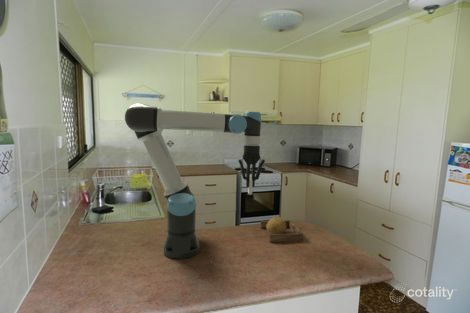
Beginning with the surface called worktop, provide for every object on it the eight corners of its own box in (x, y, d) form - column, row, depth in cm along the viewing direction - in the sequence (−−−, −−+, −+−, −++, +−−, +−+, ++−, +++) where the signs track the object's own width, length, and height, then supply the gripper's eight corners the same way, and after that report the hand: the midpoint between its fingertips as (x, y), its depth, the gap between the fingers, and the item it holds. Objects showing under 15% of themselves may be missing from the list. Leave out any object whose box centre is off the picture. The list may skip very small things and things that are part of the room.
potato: (286, 229, 146) (286, 214, 145) (285, 240, 133) (286, 224, 132) (267, 227, 148) (267, 213, 147) (264, 238, 134) (265, 222, 133)
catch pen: (302, 240, 133) (303, 233, 133) (269, 242, 130) (270, 235, 130) (289, 226, 151) (289, 220, 150) (260, 227, 148) (260, 221, 148)
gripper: (263, 144, 138) (261, 191, 141) (237, 143, 136) (235, 191, 139) (267, 145, 130) (265, 195, 133) (239, 145, 128) (237, 195, 131)
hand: (249, 193), depth 136 cm, fingers closed
